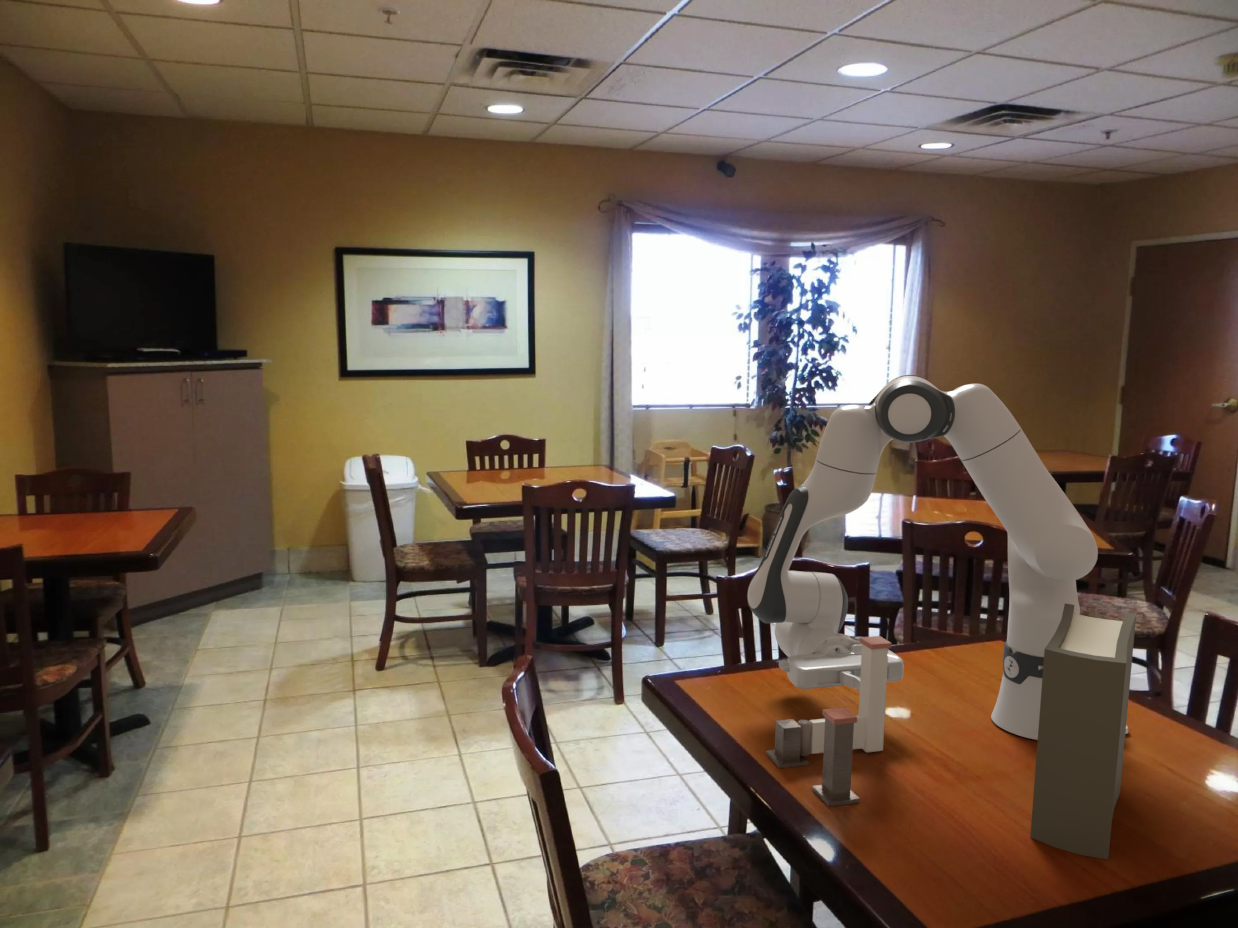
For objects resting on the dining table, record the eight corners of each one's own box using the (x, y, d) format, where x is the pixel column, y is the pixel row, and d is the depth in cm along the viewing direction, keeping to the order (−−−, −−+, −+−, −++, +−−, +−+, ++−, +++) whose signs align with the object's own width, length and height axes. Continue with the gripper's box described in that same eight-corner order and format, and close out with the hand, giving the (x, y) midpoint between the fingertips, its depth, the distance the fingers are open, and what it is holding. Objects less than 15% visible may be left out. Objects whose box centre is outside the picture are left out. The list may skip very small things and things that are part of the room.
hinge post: (794, 750, 145) (795, 715, 144) (808, 764, 140) (809, 728, 139) (766, 753, 144) (767, 718, 143) (779, 767, 139) (780, 731, 138)
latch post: (842, 785, 133) (846, 705, 132) (859, 802, 129) (864, 718, 127) (812, 789, 132) (816, 707, 131) (828, 806, 127) (832, 721, 126)
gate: (873, 741, 148) (879, 635, 145) (885, 750, 144) (891, 642, 142) (792, 750, 144) (796, 642, 142) (802, 760, 141) (807, 649, 138)
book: (1107, 866, 115) (1126, 660, 110) (1029, 843, 120) (1044, 646, 115) (1119, 793, 132) (1136, 614, 128) (1051, 776, 137) (1064, 603, 133)
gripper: (775, 644, 156) (810, 672, 143) (879, 636, 161) (922, 662, 148) (774, 678, 157) (809, 709, 144) (877, 669, 162) (920, 698, 149)
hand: (867, 685), depth 146 cm, fingers closed
